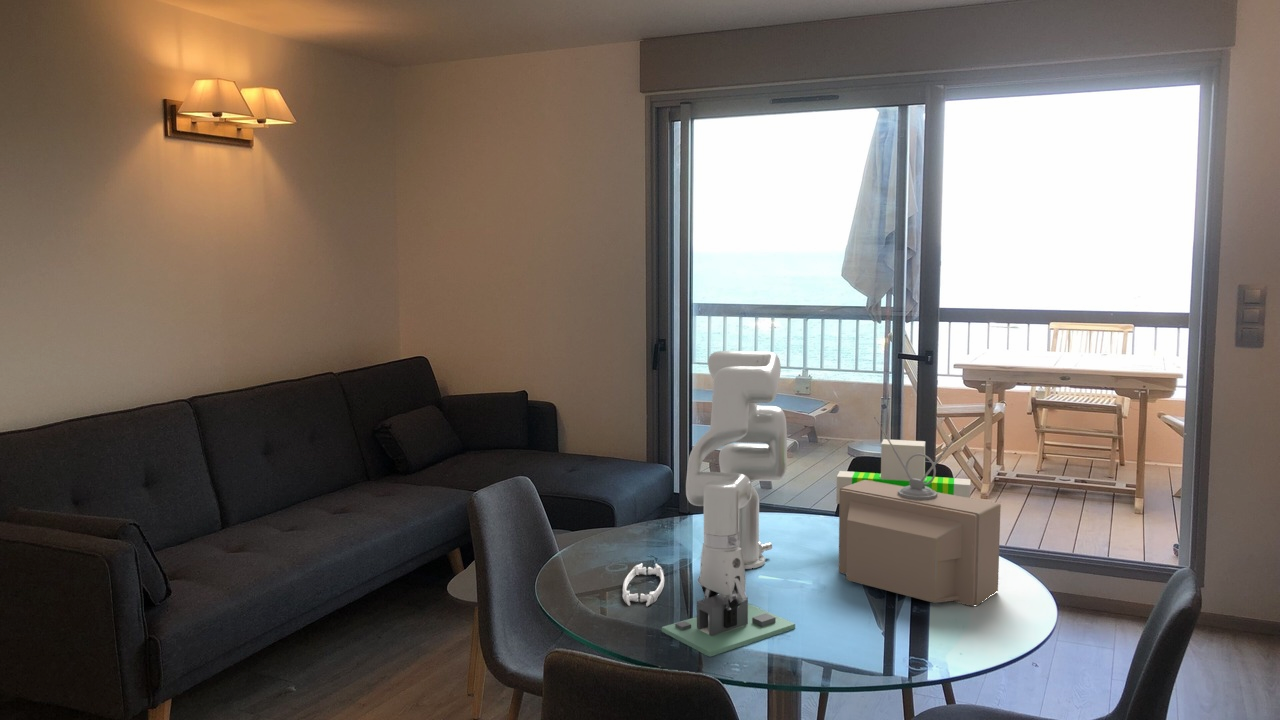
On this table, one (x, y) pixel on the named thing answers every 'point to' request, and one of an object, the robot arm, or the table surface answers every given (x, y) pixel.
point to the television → (919, 539)
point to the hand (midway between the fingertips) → (721, 621)
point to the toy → (897, 475)
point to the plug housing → (718, 614)
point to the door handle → (644, 597)
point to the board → (729, 632)
